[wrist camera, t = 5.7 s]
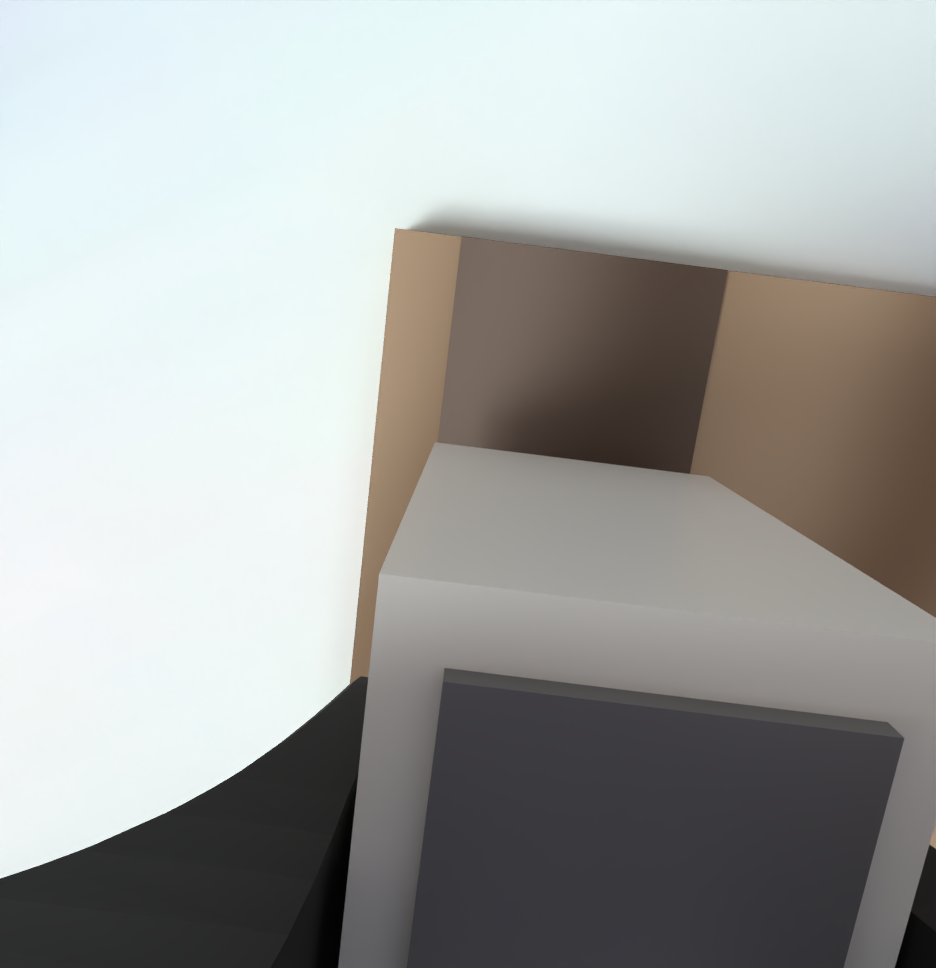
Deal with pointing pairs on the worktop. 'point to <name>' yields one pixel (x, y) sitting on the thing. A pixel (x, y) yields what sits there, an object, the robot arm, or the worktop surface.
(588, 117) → the worktop surface
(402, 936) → the block
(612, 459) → the board
